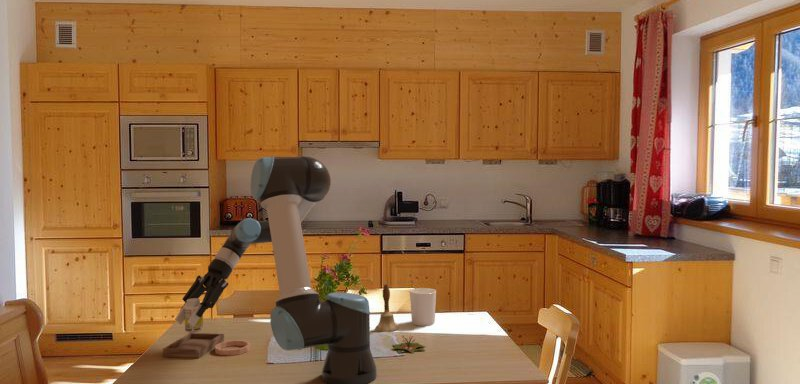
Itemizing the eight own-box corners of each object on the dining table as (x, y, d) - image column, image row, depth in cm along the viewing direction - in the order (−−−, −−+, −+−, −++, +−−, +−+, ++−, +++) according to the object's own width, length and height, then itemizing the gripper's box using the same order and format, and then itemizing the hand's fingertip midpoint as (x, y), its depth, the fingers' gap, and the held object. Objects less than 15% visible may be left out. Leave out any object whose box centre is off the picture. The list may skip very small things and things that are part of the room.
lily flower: (431, 353, 194) (431, 339, 194) (394, 357, 192) (394, 342, 191) (421, 343, 206) (421, 329, 206) (386, 345, 203) (385, 332, 203)
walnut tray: (199, 358, 192) (198, 350, 192) (162, 356, 193) (162, 348, 193) (224, 341, 209) (223, 333, 209) (190, 340, 211) (190, 332, 211)
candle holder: (405, 321, 232) (405, 289, 231) (428, 318, 236) (428, 286, 235) (417, 327, 223) (416, 294, 222) (441, 324, 227) (441, 291, 226)
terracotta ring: (242, 355, 193) (241, 350, 193) (209, 354, 195) (209, 349, 195) (255, 345, 204) (255, 340, 204) (224, 344, 206) (223, 339, 206)
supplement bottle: (204, 328, 205) (203, 297, 204) (201, 332, 199) (200, 301, 198) (187, 328, 204) (186, 297, 203) (183, 333, 198) (182, 301, 198)
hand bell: (397, 332, 218) (397, 286, 217) (374, 331, 219) (373, 286, 218) (399, 325, 226) (398, 282, 225) (376, 325, 227) (375, 282, 226)
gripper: (248, 273, 208) (210, 333, 195) (211, 268, 218) (173, 325, 206) (235, 260, 203) (195, 320, 191) (198, 255, 214) (158, 313, 201)
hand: (184, 323), depth 198 cm, fingers closed on supplement bottle, 5 cm apart
